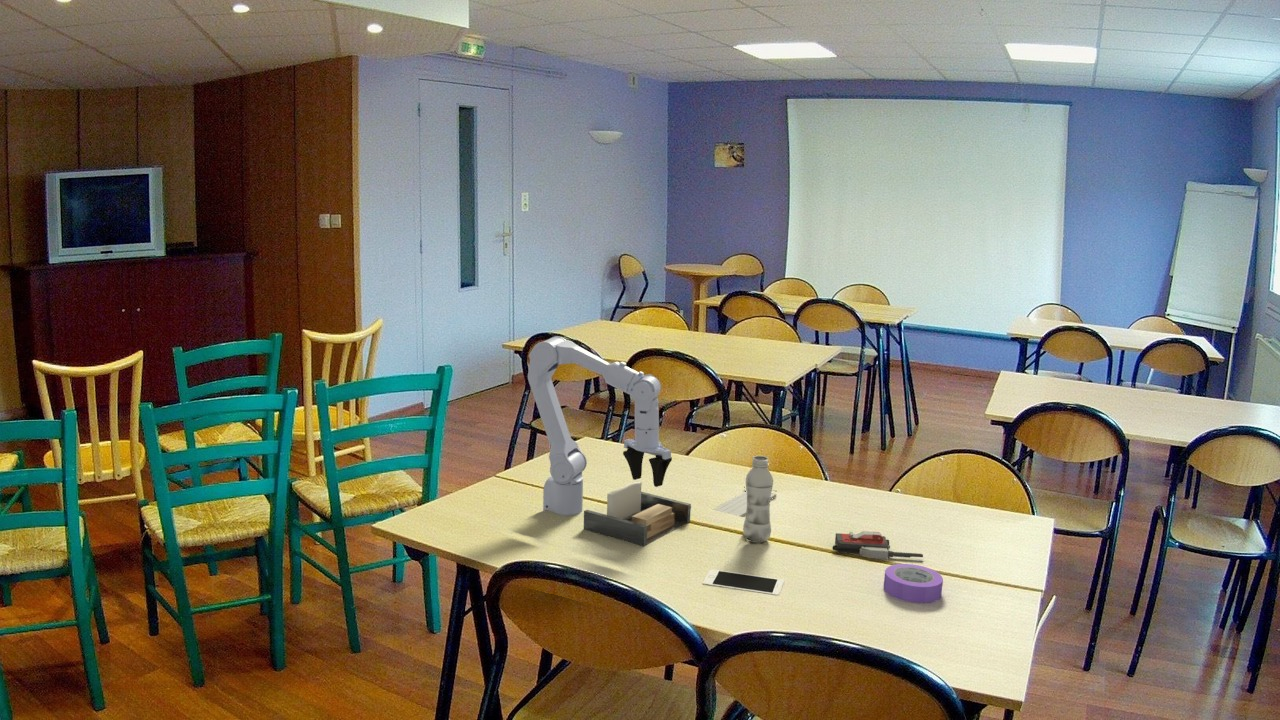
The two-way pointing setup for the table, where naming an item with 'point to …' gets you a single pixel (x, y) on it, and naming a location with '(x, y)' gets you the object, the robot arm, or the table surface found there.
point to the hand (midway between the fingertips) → (647, 482)
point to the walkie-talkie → (867, 545)
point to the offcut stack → (655, 519)
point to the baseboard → (736, 505)
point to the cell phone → (744, 582)
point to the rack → (636, 531)
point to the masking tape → (913, 583)
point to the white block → (624, 501)
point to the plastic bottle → (758, 501)
